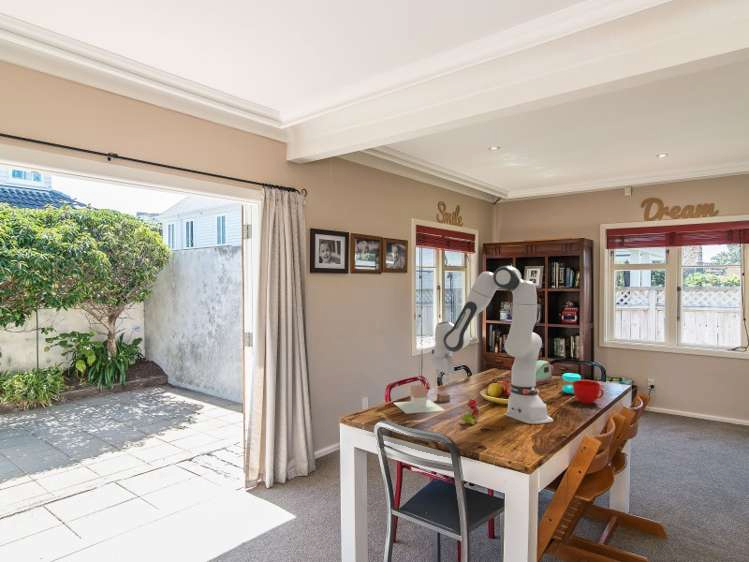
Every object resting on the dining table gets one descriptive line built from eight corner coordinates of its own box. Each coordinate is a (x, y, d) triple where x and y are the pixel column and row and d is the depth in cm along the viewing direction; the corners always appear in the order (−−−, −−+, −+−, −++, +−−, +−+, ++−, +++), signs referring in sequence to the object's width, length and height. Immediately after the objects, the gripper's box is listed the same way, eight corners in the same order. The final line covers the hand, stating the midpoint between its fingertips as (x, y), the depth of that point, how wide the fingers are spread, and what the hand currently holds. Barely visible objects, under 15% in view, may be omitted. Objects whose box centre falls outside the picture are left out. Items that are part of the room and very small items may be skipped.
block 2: (426, 407, 236) (426, 397, 236) (415, 408, 235) (415, 398, 235) (421, 404, 242) (422, 394, 242) (410, 405, 240) (410, 395, 240)
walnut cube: (449, 404, 247) (449, 395, 247) (440, 405, 245) (440, 395, 245) (445, 402, 251) (445, 392, 251) (436, 402, 250) (437, 393, 250)
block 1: (426, 397, 236) (426, 387, 236) (415, 398, 235) (415, 388, 234) (422, 394, 242) (422, 384, 242) (410, 395, 240) (410, 385, 240)
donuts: (558, 374, 275) (567, 372, 281) (558, 391, 275) (567, 389, 281) (575, 377, 267) (584, 374, 273) (575, 395, 267) (584, 392, 274)
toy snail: (533, 386, 288) (534, 363, 288) (523, 384, 294) (523, 361, 294) (557, 381, 303) (557, 359, 303) (546, 379, 309) (547, 357, 309)
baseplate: (445, 412, 231) (445, 410, 231) (406, 415, 226) (406, 413, 226) (429, 402, 251) (429, 400, 251) (393, 405, 245) (393, 402, 245)
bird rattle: (469, 425, 219) (458, 420, 214) (475, 401, 222) (464, 396, 217) (480, 428, 215) (469, 424, 209) (487, 403, 217) (475, 399, 212)
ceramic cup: (593, 408, 240) (593, 388, 240) (567, 400, 255) (567, 381, 255) (612, 405, 245) (612, 386, 245) (585, 398, 260) (585, 379, 260)
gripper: (457, 356, 239) (456, 383, 239) (440, 349, 259) (440, 374, 259) (445, 356, 237) (445, 384, 238) (430, 349, 257) (429, 375, 257)
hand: (442, 379), depth 249 cm, fingers open, 8 cm apart
